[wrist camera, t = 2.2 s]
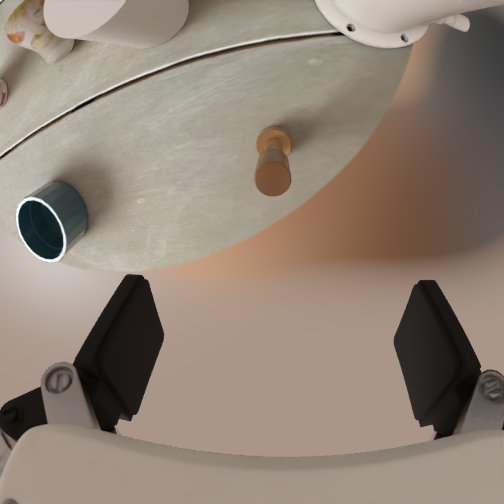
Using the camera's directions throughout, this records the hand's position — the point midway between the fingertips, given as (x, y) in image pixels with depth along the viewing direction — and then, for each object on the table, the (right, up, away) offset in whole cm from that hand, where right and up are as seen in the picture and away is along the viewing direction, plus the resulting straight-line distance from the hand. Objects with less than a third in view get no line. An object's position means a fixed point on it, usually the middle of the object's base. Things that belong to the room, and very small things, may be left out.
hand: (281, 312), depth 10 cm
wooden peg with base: (+1, +13, +18) cm, 22 cm away
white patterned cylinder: (-11, +26, +11) cm, 30 cm away
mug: (-23, +28, +11) cm, 38 cm away
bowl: (-26, +7, +23) cm, 36 cm away
